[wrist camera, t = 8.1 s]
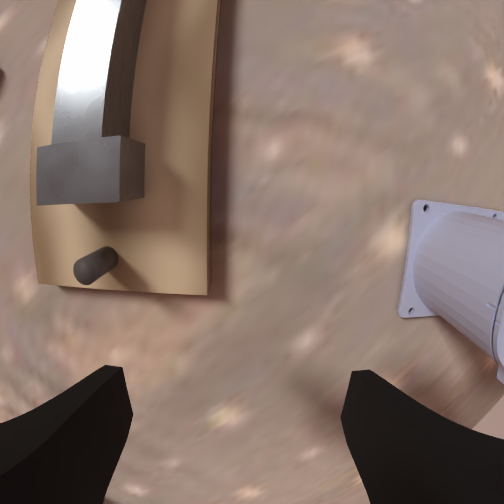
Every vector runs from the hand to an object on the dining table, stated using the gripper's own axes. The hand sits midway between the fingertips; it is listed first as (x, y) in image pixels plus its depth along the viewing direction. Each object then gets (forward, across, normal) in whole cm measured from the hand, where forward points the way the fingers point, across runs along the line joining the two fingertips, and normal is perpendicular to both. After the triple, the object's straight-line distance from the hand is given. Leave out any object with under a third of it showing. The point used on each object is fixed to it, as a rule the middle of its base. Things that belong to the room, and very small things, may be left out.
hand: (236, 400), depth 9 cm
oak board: (+10, +8, -16) cm, 21 cm away
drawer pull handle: (+9, +8, -16) cm, 20 cm away
